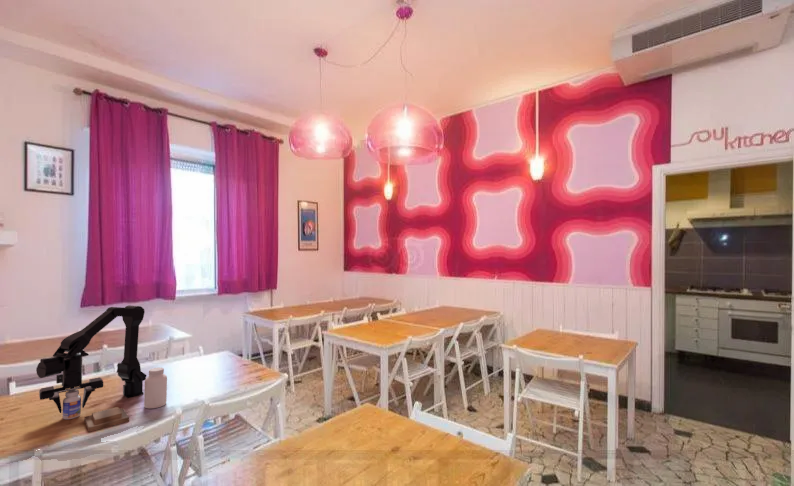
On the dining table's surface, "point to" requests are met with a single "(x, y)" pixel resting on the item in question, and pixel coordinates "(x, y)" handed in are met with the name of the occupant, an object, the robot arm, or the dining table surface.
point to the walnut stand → (106, 418)
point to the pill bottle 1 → (71, 405)
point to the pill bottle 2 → (155, 388)
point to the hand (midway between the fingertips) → (71, 410)
